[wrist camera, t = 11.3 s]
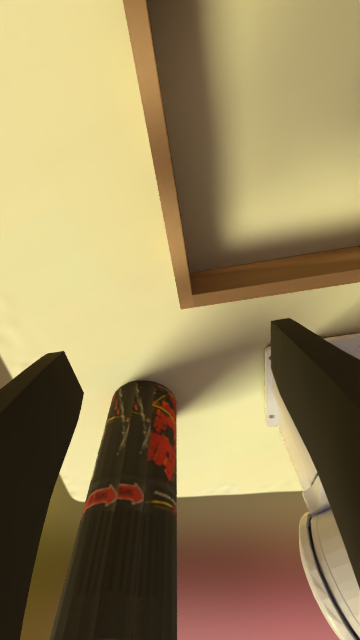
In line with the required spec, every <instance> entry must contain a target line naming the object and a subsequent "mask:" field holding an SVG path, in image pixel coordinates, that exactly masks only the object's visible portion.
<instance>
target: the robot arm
mask: <svg viewBox="0 0 360 640" xmlns="http://www.w3.org/2000/svg"><path fill="white" fill-rule="evenodd" d="M270 356H271V358H270ZM83 394H84V392H83V390H82V388H81V386H80V384H79V382H78V380H77V378H76V375H75V373H74V371H73V369H72V367H71V365H70V363H69V361H68V359H67V357H66V354H65V352H64V351H61V352H55V353H48V354H46V355H44V356H43V357H41V358H40V359H39V360H37V361H36V362H34V363H33V364H32V365H31V366H29V367H28V368H27V369H25V370H24V371H23V372H22V373H20V374H19V375H18V376H17V377H15V378H14V379H13V380H12V381H10V382H9V383H8V384H7V385H5V386H4V387H3V388H1V389H0V640H20V635H21V629H22V623H23V618H24V612H25V607H26V603H27V597H28V592H29V587H30V582H31V577H32V572H33V568H34V564H35V559H36V555H37V550H38V546H39V541H40V537H41V533H42V529H43V525H44V521H45V518H46V514H47V510H48V506H49V502H50V499H51V495H52V492H53V489H54V486H55V483H56V480H57V477H58V475H59V472H60V469H61V467H62V464H63V461H64V458H65V456H66V453H67V450H68V447H69V445H70V442H71V439H72V436H73V433H74V430H75V428H76V425H77V422H78V419H79V414H80V410H81V405H82V400H83ZM265 421H266V424H267V426H269V427H274V426H278V428H279V430H280V433H281V436H282V438H283V441H284V444H285V446H286V449H287V451H288V454H289V457H290V459H291V462H292V465H293V467H294V470H295V473H296V475H297V478H298V481H299V483H300V485H301V487H302V489H303V490H304V492H303V493H302V495H303V497H304V500H305V503H306V505H307V508H308V510H309V512H307V513H305V514H304V515H303V516H302V517H301V520H300V524H299V546H300V554H301V559H302V563H303V567H304V570H305V573H306V576H307V579H308V582H309V585H310V587H311V590H312V592H313V594H314V597H315V599H316V601H317V603H318V605H319V607H320V609H321V611H322V612H323V614H324V616H325V618H326V620H327V621H328V623H329V624H330V626H331V627H332V629H333V630H334V632H335V633H336V635H337V636H338V637H339V639H340V640H360V333H357V334H350V335H343V336H335V337H328V338H321V337H320V336H318V335H316V334H315V333H313V332H312V331H310V330H308V329H307V328H305V327H304V326H302V325H300V324H299V323H297V322H295V321H294V320H292V319H290V318H287V319H280V320H274V321H271V346H268V347H267V348H266V349H265Z"/></svg>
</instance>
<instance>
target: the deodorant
mask: <svg viewBox="0 0 360 640" xmlns="http://www.w3.org/2000/svg"><path fill="white" fill-rule="evenodd" d="M50 640H177V459H176V399H175V397H174V395H173V394H172V392H171V391H170V390H169V389H167V388H166V387H164V386H163V385H160V384H158V383H155V382H150V381H135V382H131V383H128V384H125V385H123V386H121V387H120V388H119V389H118V390H117V391H116V392H115V394H114V396H113V398H112V402H111V406H110V410H109V414H108V417H107V421H106V425H105V429H104V433H103V437H102V440H101V444H100V448H99V452H98V456H97V460H96V464H95V467H94V471H93V475H92V479H91V483H90V487H89V490H88V494H87V498H86V502H85V506H84V510H83V513H82V517H81V521H80V525H79V529H78V533H77V537H76V541H75V544H74V548H73V552H72V556H71V560H70V563H69V567H68V571H67V575H66V579H65V583H64V586H63V590H62V594H61V598H60V602H59V606H58V610H57V613H56V617H55V621H54V625H53V629H52V633H51V636H50Z"/></svg>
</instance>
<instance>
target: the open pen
mask: <svg viewBox="0 0 360 640" xmlns="http://www.w3.org/2000/svg"><path fill="white" fill-rule="evenodd" d="M123 3H124V9H125V14H126V19H127V25H128V30H129V35H130V41H131V46H132V51H133V57H134V62H135V67H136V73H137V78H138V83H139V89H140V94H141V99H142V105H143V110H144V115H145V121H146V126H147V131H148V137H149V142H150V147H151V153H152V158H153V164H154V169H155V174H156V180H157V185H158V190H159V196H160V201H161V206H162V212H163V217H164V222H165V228H166V233H167V238H168V244H169V249H170V254H171V260H172V265H173V270H174V276H175V281H176V286H177V292H178V297H179V302H180V308H181V309H186V308H193V307H200V306H206V305H213V304H219V303H226V302H232V301H239V300H245V299H252V298H259V297H265V296H272V295H278V294H285V293H291V292H298V291H304V290H311V289H318V288H324V287H331V286H337V285H344V284H350V283H357V282H360V246H356V247H350V248H343V249H337V250H331V251H325V252H319V253H313V254H306V255H300V256H294V257H288V258H282V259H275V260H269V261H263V262H257V263H251V264H244V265H238V266H232V267H226V268H220V269H214V270H207V271H201V272H195V273H189V267H188V260H187V254H186V248H185V241H184V235H183V228H182V222H181V216H180V209H179V203H178V197H177V190H176V184H175V177H174V171H173V165H172V158H171V152H170V146H169V139H168V133H167V127H166V120H165V114H164V107H163V101H162V95H161V88H160V82H159V76H158V69H157V63H156V56H155V50H154V44H153V37H152V31H151V25H150V18H149V12H148V5H147V0H123Z"/></svg>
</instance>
